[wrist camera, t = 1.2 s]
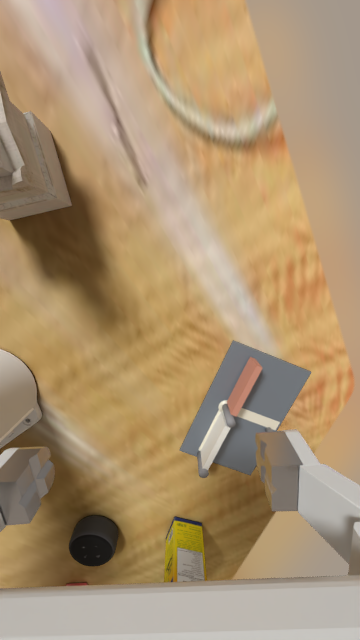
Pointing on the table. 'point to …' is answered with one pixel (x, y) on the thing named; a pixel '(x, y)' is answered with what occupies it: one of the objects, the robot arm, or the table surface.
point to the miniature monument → (27, 164)
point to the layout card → (246, 406)
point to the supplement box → (185, 552)
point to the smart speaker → (94, 541)
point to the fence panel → (244, 386)
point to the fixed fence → (216, 440)
